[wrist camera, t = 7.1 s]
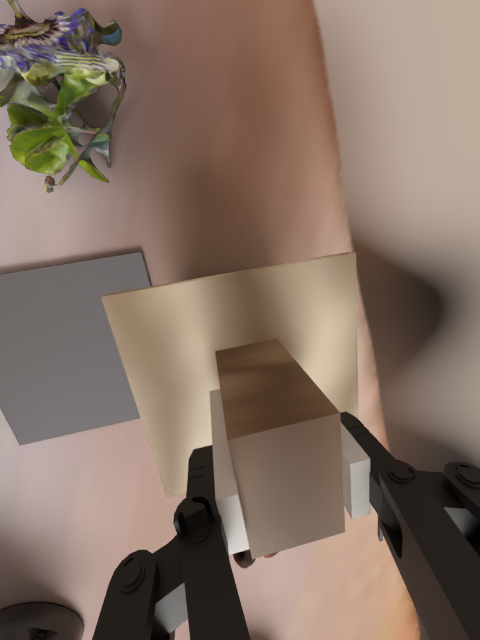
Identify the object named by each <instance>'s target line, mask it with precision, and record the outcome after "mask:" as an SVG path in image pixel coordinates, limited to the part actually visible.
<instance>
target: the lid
mask: <svg viewBox="0 0 480 640" xmlns="http://www.w3.org/2000/svg"><path fill="white" fill-rule="evenodd" d="M101 299H102V302H103V305H104V308H105V311H106V314H107V317H108V320H109V323H110V326H111V329H112V332H113V335H114V338H115V341H116V344H117V348H118V351H119V354H120V357H121V360H122V363H123V366H124V369H125V372H126V375H127V378H128V381H129V384H130V387H131V390H132V393H133V396H134V399H135V402H136V405H137V408H138V411H139V414H140V417H141V421H142V424H143V427H144V430H145V433H146V436H147V439H148V442H149V445H150V448H151V451H152V454H153V457H154V460H155V463H156V466H157V469H158V472H159V475H160V478H161V481H162V484H163V487H164V490H165V493H166V497H171V496H175V495H179V494H183V493H187V481H188V479H187V477H188V461H189V458H190V456H191V454H192V452H193V449H197V448H201V447H205V446H209V445H212V428H211V410H210V392H209V391H212V390H216V389H220V391H221V398H222V406H223V413H224V421H225V428H226V436H227V442H228V447H229V452H230V456H231V461H232V466H233V471H234V475H235V479H236V482H237V487H238V492H239V497H240V501H241V506H242V511H243V515H244V520H245V525H246V530H247V535H248V541H249V547H250V551H251V556H252V559H255V558H259V557H262V556H265V555H269V554H272V553H276V552H279V551H282V550H286V549H289V548H293V547H296V546H299V545H303V544H306V543H310V542H313V541H316V540H320V539H323V538H326V537H330V536H333V535H337V534H340V533H343V532H345V520H344V503H343V480H342V456H341V451H342V444H341V419H340V413H341V412H345V411H346V412H348V413H350V414H352V415H353V416H355V417H357V419H358V364H357V292H356V253H349V252H346V253H341V254H335V255H329V256H323V257H318V258H312V259H306V260H300V261H294V262H289V263H283V264H277V265H271V266H266V267H260V268H254V269H248V270H242V271H237V272H231V273H225V274H219V275H214V276H208V277H202V278H196V279H190V280H185V281H179V282H173V283H167V284H162V285H156V286H150V287H144V288H138V289H133V290H127V291H121V292H115V293H110V294H106V295H104V296H102V297H101Z"/></svg>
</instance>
